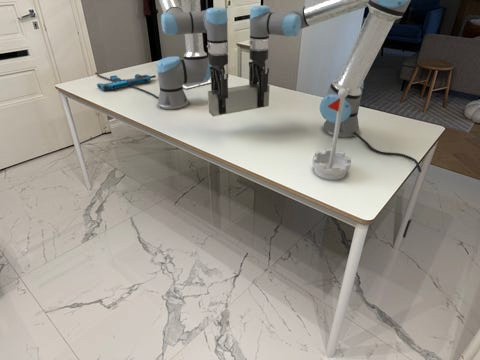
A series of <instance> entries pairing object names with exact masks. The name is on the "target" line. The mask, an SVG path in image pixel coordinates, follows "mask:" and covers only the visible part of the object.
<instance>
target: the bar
mask: <svg viewBox="0 0 480 360" xmlns="http://www.w3.org/2000/svg"><path fill="white" fill-rule="evenodd" d="M270 88H271V87H270V85H269V84H268V91H267V92H265V93H264V107H259V108H258V107H257V103H258V93H257V92H259V87H258V84H251V85H249V84H245V85H238V86H232V87H231V86H230V87H228V98H226V113H225V114H219V100H218V98H220V96H219V89H218V90H211V89H210V90H208V91H207V98H208V99H207V100H208V101H207V103H208V113H209V114H210V115H211V116H212V117H217V116H223V115H228V114H234V113H239V112H245V111H250V110H256V109H262V108H268V107H269V105H270Z"/></svg>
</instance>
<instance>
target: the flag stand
mask: <svg viewBox="0 0 480 360" xmlns="http://www.w3.org/2000/svg"><path fill="white" fill-rule="evenodd" d="M338 95H339V97H340V98H339V99H338V100H336V101H335V102H333V103H332V104H330V105H329V106H327V107H329V108H331V109H333V110H336V111H338V112H337V118H336V124H335V130H334V136H332V143H331V148H330V149H329V148H328V149H324V152H321V151H320V150H317V151H315V152H314V154H313V155H314V156H312V166H313V168H314V169H313V170H314V173H315V174H316V175H317V176H318V177H320V178H322V179H325V180H330V181H333V180H340V179H343V178H345V176H346V173H347V172H348V171H350V169H351V166H352V158H351V157H350V156H346V153H345V152H343V151H339V150H338V151H337V145H338V138H339V137H338V134H339V128H340V123H341V117H342V111H343V105H344V99H345V97H346V96H347V95H348V91H347V90H346V89H344V88H342V89H340V90H339V92H338ZM336 151H337V152H336Z"/></svg>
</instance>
